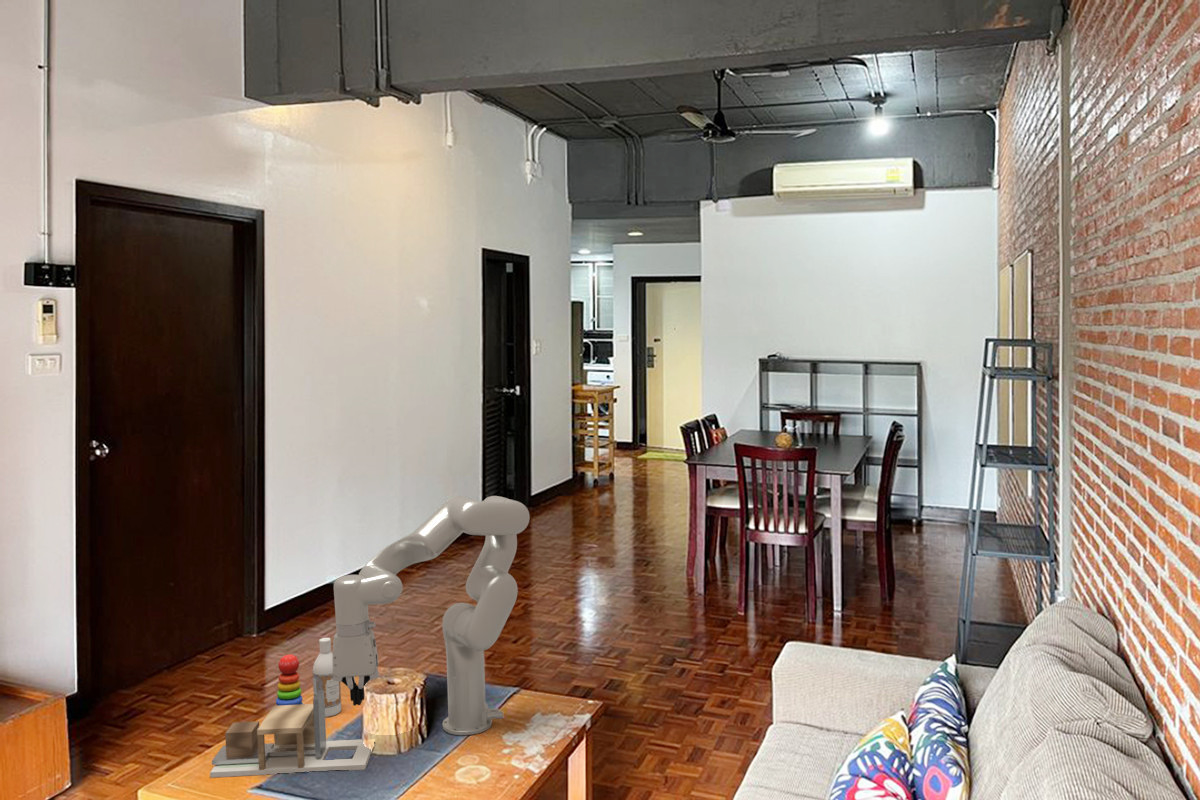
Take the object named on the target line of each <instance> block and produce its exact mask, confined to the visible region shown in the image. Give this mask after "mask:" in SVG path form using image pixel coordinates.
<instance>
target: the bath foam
mask: <svg viewBox="0 0 1200 800" xmlns="http://www.w3.org/2000/svg"><path fill="white" fill-rule="evenodd" d="M318 641H319V644H318V645H319V654H318V656H317V657H316V659H315V661H314V663H313V666H312V684H313V685H312V687H313V690H312V691H313V698H314V697H315V696H316V694H317V692H318V691H319V690H324V702H325V718H327V717H328V718H329V717H333V716H336V715H339V713H340V712H341V711H342V692H341V691H342V689H341V682H338V681H334V680H333V675H334V674H333V651H332V644H331V643H332V641H331V638H330V637H322V638H319V640H318Z"/></svg>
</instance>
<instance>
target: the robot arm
mask: <svg viewBox="0 0 1200 800" xmlns="http://www.w3.org/2000/svg"><path fill="white" fill-rule="evenodd" d="M529 523H530V511H529V510H528V508H527V506H526V505H525V504H523V503H522V502H520V501H518V500H514V499H509V498H507V497H503V496H500V495H499V496H497V495H490V496H487V497H486V498H485V499H484V500H479V499H478V500H477V499H473V498H470V497H467V496H461V495H458V496H457V495H455V496H453V497H451V498H449V499H448V500H447V501H445V502H444V503H443V504H442V505H441V506H440V507H439V508H438V509H437V510H436V511H434V512H433V513H432V514H431V515H430V516H429V517H428V518H427V519H426V520H425V521H424V522H423V523H422V524H420V525H419V526H418V527H417V528H416V529H415V530H413V532H411V533H409V534H408V535H406V536H403V537H402V538H400V539H398V540H396V541H394V542H393V543H391V544H389V545H387V546H386V547H385V548H383V549H382V550H380V551H379V552H378V553H377V554H375V556H373V557H372V558H371V559H370V560H369V561H368V562H367V563H365V565H364V566H362V568H361V570H360V571H359V572H358V574H348V575H341V576H339V577H338V578H336V579H335V580H334V582H333V597H334V613H335V626H336V627H335V629H336V633H335V634H334V635H333V643H332V644H333V645H332V653H333V674H334V675H333V680H334V681H338V682H340V683H343V684H344V685H345V686H346V687H347V688H348V690H349V693H350V694H349V697H350V701H351V702H352V703H353V704H352V705H353V706H355V707H356V706H361V705H362V703H363V701H364V700H365V686H366V685H367V684H368V682H369V681H373V680H375V679H379V676H380V671H379V669H378V668H379V655H378V647H377V642H376V637H375V633H374V630H373V629H374V628H376V622H375V621H371V620H370V617H369V606H370V605H371V606H372V605H373V606H374V605H386V604H388V605H389V604H392V603H393V602H396V600H397V599H398V598H400V596H401V594H402V593H403V583H402V580H401V579H400V577H399V576H398V575H397V574H398V573H399V572H401V571H402V570H404V569H405V568H408V567H409V566H411V565H413V564H414V565H415V564H418V563H421V562H426V561H429V560H430V561H431V560H433V559H435V558H437V557H439V556H440V555H441V554H442V553H443V552H444V551H445V550H446V549H447V548H448V547H449V546H450V545H451V544H452V543H453V542H454V541H456V539H457V538H458V537H460V536H461V535H462V534H463V533H465V534H467V535H472V536H485V540H484V544H483V547H482V549H481V551H480V553H479V554H478V557H477V559H476V561H475V564H474V565H473V567H472V569H471V571H470V574H469V575H468V578H467V579H466V582H465V592H466V594H467V595H468V596H469V597H470V598H471V599H472V600H473V601H476V602H477V603H476V606H474V605H472V604H470V603H467V602H457V603H454V604H452V605H450V607H448V608H447V610H446V611H445V612H444V614H443V616H442V622H441V623H442V624H441V625H442V626H441V627H442V628H441V629H442V633H443V634H442V635H443V639H444V646H445V653H446V680H447V682H446V683H447V708H448V709H447V711H448V716H446V718H445V719H443V721H442V729H443V731H445V732H446V733H448V734H451V735H455V736H470V735H472V736H473V735H477V734H480V733H483V732H485V731H487V730H488V729H490V728H491V727H492V725H493V720H503V719H504V711H503V710H500V708H490V707H488V702H486V682H485V681H486V679H485V678H486V676H485V675H486V674H485V653H484V652H485V651H486V650H488V649H490V648H491V647H492V646H493V645H494V644H495V643H496V642H497V640H498V639H499V637H500V635H501V633H502V631H503V629H504V627H505V625H506V622H507V620H508V618H509V617H510V615H511V612H512V611H513V609H514V606H515V603H516V601H517V597H518V591H519V590H518V584H517V582H516V579H515V578H514V577H513V575H511V574H510V573H509V570H510V569H511V566H512V563H513V562H514V559H515V556H516V553H517V547H518V537H517V535H518V534H520V533H522V532H524V531H525V529H526V528H527V527H528V525H529ZM356 677H358V684H357V683H356V680H355V678H356Z"/></svg>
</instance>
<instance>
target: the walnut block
mask: <svg viewBox="0 0 1200 800" xmlns="http://www.w3.org/2000/svg"><path fill="white" fill-rule="evenodd" d="M259 726H260V721H258V720H257V721H240V722H239V721H238V722H235V721H233V723H231V725H230V726H229V728H228V729H227V730H226V731H225V733H224V734H225V735H224V736H225V746H226V758H239V757H253V756H254V754H255V753H256V751H257V750H258V738H257V729H258V728H259Z"/></svg>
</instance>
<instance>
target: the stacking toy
mask: <svg viewBox="0 0 1200 800" xmlns="http://www.w3.org/2000/svg"><path fill="white" fill-rule="evenodd" d="M299 667H300V660H299V659H298V657H297V656H295V654H285V655H283V656H282V657H281V658H280V660H279V661H278V669H279V671H280V673H281V674H279V676H278V681H279V682H278V684H277V689H278V690H277V693H276V694H277V695H276V696H277V698H276V700H275V703H276V704H275V706H279V705H301V704H304V703H303V696H302V688H301V687H300V686H301V681H299V679H300V674H299V672H297V671H298V669H299Z"/></svg>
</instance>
